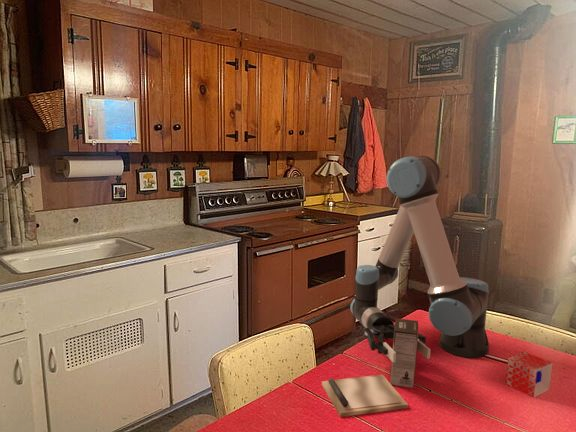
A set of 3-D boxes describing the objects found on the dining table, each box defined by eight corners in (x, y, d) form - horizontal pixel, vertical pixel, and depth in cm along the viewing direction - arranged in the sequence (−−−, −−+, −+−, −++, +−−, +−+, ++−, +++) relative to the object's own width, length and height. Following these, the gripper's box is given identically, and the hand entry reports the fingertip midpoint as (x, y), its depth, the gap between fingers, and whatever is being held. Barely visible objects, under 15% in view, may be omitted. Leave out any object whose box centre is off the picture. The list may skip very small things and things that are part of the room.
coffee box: (391, 368, 134) (395, 317, 131) (413, 372, 133) (418, 320, 130) (390, 385, 126) (394, 330, 123) (414, 388, 124) (418, 333, 121)
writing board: (382, 377, 129) (382, 368, 129) (407, 408, 115) (408, 397, 115) (321, 384, 125) (322, 375, 125) (340, 417, 111) (340, 406, 110)
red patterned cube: (521, 376, 131) (524, 351, 130) (549, 389, 125) (552, 362, 124) (505, 384, 127) (508, 358, 126) (533, 398, 121) (536, 370, 119)
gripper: (408, 331, 148) (447, 364, 127) (344, 337, 143) (373, 372, 122) (410, 309, 147) (449, 339, 125) (344, 314, 142) (374, 346, 120)
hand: (411, 355), depth 123 cm, fingers closed on coffee box, 9 cm apart
